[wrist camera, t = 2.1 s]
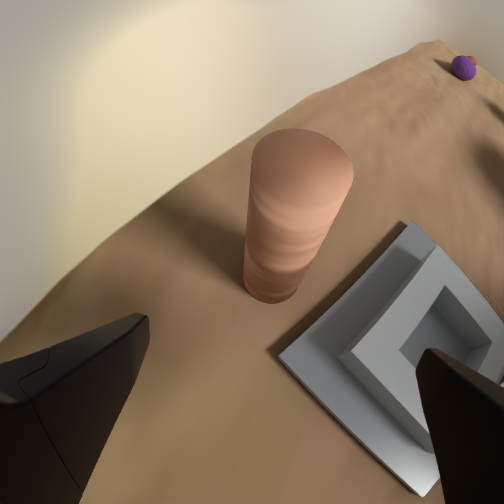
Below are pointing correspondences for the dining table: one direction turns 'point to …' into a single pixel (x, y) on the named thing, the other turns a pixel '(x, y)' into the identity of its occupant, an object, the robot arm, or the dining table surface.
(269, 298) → the peg
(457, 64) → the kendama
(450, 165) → the dining table surface
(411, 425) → the socket block
